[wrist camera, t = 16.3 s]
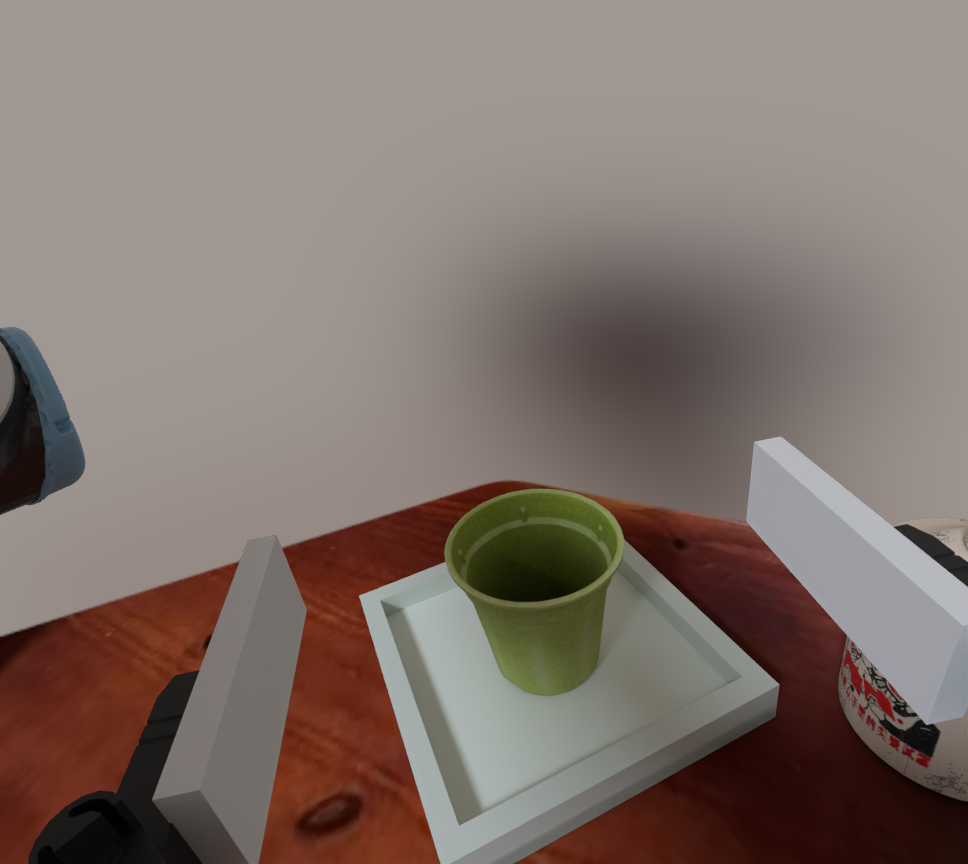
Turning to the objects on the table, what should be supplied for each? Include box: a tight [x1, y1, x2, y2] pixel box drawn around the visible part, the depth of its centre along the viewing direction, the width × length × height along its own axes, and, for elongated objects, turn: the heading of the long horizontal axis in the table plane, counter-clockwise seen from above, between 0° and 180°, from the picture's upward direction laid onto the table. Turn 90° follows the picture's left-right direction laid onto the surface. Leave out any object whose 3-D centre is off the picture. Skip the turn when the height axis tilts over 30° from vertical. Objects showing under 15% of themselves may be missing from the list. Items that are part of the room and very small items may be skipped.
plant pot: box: [445, 489, 624, 696], centre depth 32 cm, size 9×9×9 cm
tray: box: [359, 540, 779, 864], centre depth 34 cm, size 18×18×2 cm
